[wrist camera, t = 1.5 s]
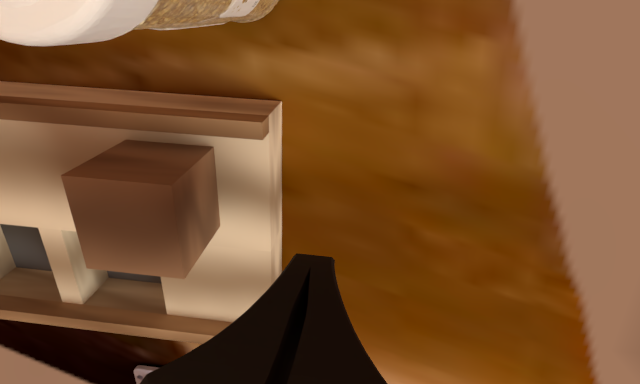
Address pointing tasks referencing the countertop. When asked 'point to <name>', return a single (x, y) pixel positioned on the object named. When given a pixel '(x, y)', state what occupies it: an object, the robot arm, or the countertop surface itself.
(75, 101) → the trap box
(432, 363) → the countertop surface
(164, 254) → the walnut block
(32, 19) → the sprinkles bottle
